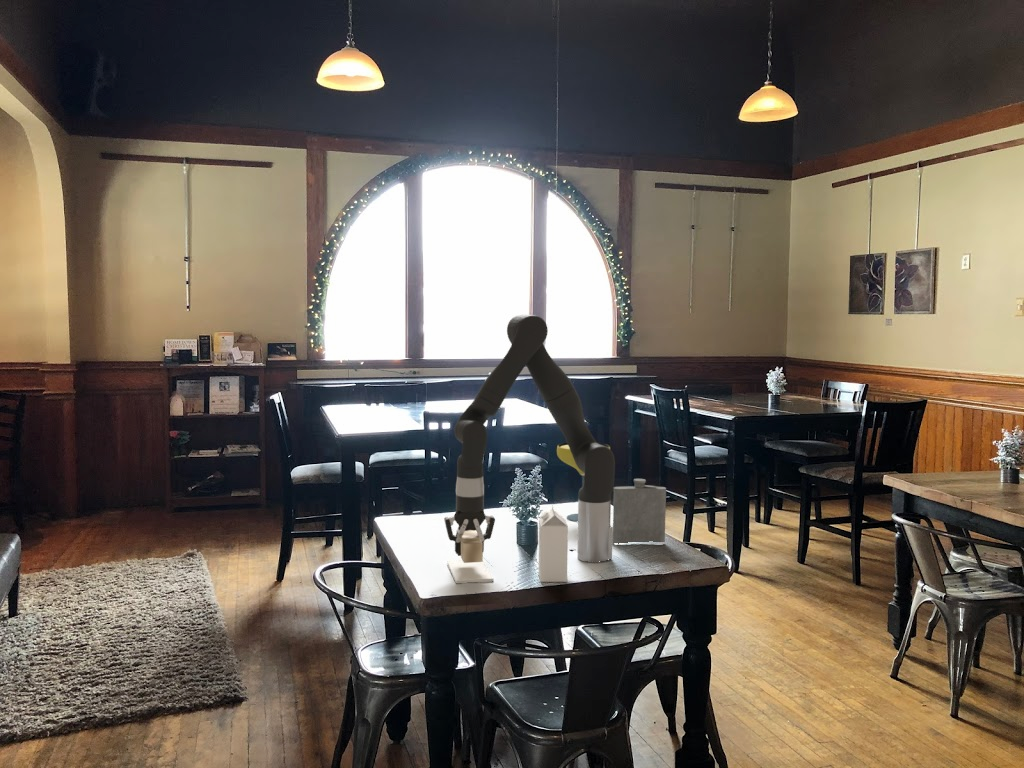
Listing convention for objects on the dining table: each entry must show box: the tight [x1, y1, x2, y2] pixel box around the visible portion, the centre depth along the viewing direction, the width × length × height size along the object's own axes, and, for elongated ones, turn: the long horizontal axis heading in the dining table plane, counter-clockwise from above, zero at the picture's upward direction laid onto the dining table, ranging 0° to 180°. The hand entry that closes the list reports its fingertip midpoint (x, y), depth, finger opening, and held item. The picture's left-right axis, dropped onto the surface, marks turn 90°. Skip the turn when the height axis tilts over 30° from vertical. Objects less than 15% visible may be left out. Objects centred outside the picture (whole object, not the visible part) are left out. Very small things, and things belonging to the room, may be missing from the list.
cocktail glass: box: [556, 441, 611, 522], centre depth 289 cm, size 18×18×25 cm
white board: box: [447, 560, 495, 584], centre depth 231 cm, size 10×17×1 cm, turn 12°
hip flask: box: [612, 478, 667, 544], centre depth 259 cm, size 16×4×20 cm, turn 92°
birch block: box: [460, 530, 484, 563], centre depth 230 cm, size 5×5×14 cm
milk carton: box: [538, 504, 569, 583], centre depth 226 cm, size 7×7×19 cm
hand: (469, 554), depth 230 cm, fingers closed on birch block, 5 cm apart
